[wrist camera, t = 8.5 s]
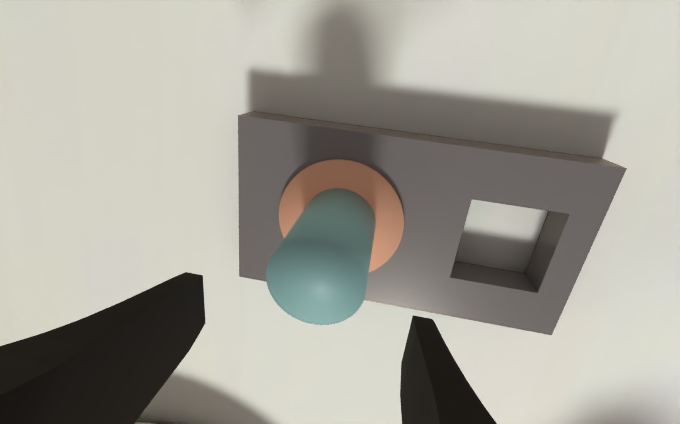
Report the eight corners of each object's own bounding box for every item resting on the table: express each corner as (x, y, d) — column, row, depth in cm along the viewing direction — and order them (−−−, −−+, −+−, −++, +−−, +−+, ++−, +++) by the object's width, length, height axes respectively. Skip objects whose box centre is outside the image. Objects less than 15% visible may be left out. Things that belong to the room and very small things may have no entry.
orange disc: (330, 131, 17) (330, 132, 17) (431, 217, 18) (431, 219, 18) (257, 223, 20) (255, 225, 20) (348, 294, 21) (347, 297, 21)
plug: (334, 173, 18) (305, 216, 12) (391, 221, 18) (388, 283, 13) (290, 223, 19) (247, 283, 14) (344, 267, 20) (323, 340, 14)
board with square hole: (602, 158, 18) (626, 168, 16) (538, 313, 22) (551, 335, 20) (253, 111, 20) (238, 115, 18) (251, 260, 23) (239, 276, 22)
